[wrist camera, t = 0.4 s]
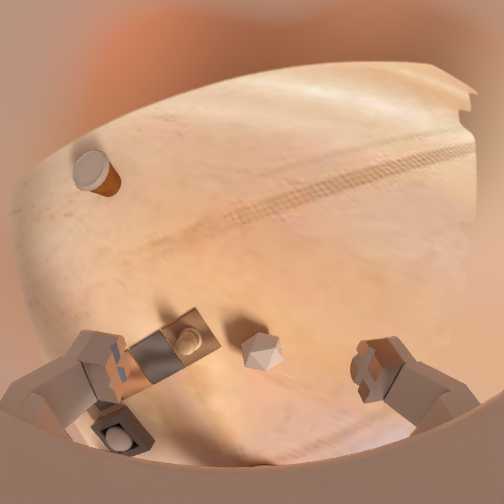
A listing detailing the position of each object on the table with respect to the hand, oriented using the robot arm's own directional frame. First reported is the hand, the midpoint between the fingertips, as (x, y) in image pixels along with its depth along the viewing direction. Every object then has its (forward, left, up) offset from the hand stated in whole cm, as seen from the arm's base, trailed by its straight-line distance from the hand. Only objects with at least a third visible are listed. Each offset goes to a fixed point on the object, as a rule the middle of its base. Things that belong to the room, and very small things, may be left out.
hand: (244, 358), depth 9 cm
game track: (-4, +30, -51) cm, 60 cm away
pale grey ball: (-17, +47, -49) cm, 70 cm away
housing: (-17, +47, -51) cm, 72 cm away
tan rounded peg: (-4, +15, -51) cm, 53 cm away
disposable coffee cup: (+38, +14, -51) cm, 66 cm away
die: (-14, +3, -51) cm, 53 cm away
